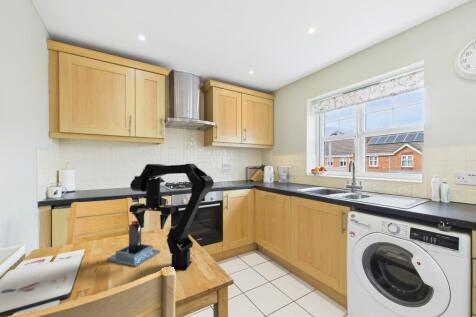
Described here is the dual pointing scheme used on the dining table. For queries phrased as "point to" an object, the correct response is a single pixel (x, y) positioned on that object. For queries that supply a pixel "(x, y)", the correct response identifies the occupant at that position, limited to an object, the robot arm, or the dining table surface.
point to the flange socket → (134, 255)
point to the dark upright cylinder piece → (134, 237)
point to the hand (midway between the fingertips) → (152, 228)
